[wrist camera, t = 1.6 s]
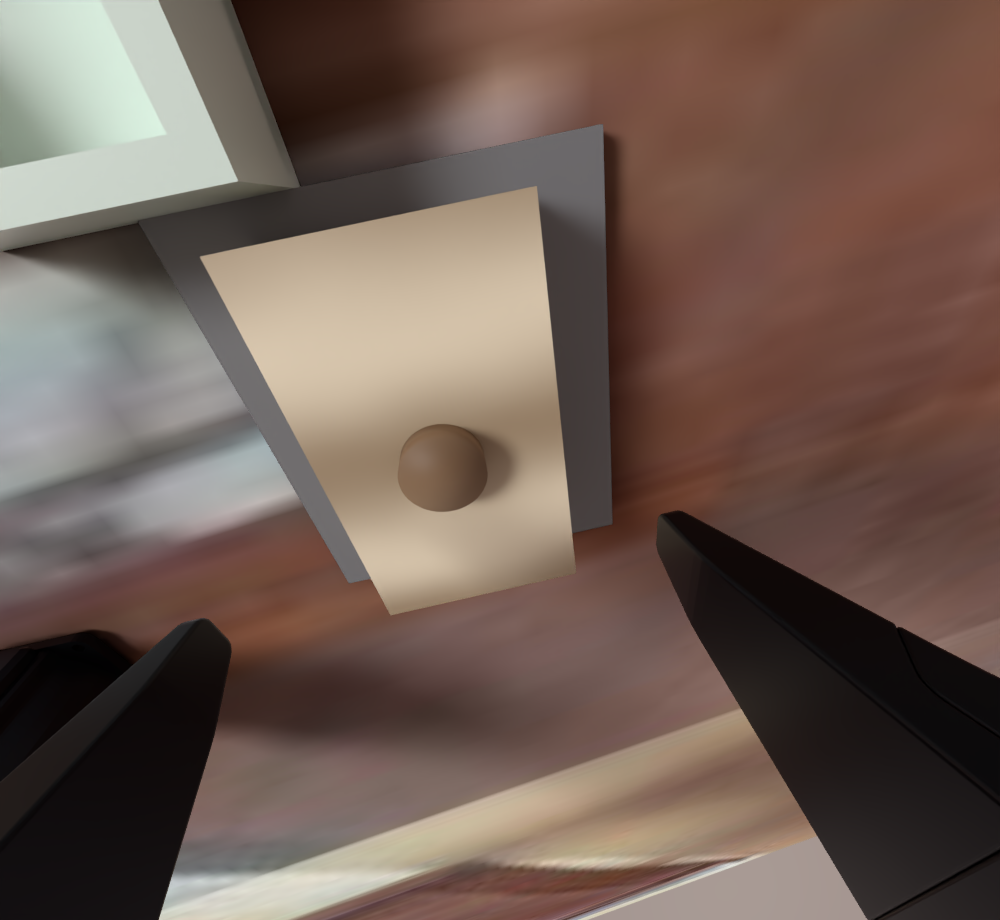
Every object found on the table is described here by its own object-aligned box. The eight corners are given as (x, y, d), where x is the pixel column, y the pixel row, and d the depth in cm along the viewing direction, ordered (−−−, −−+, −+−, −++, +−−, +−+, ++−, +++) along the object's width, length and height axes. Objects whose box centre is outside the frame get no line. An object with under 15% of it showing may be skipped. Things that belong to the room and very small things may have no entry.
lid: (555, 520, 17) (582, 590, 14) (397, 555, 17) (388, 634, 14) (513, 190, 11) (545, 183, 8) (255, 244, 11) (178, 261, 7)
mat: (607, 515, 18) (612, 524, 18) (351, 573, 18) (349, 583, 18) (595, 127, 11) (603, 123, 10) (151, 220, 10) (137, 220, 10)
